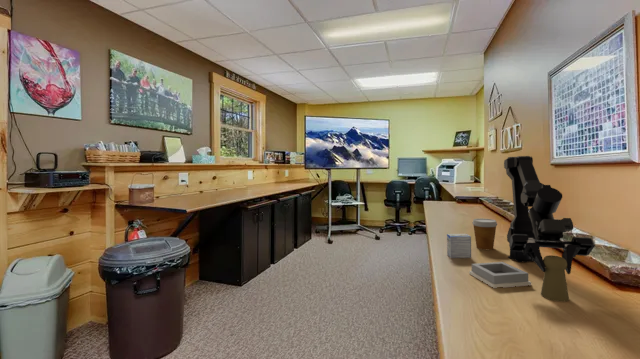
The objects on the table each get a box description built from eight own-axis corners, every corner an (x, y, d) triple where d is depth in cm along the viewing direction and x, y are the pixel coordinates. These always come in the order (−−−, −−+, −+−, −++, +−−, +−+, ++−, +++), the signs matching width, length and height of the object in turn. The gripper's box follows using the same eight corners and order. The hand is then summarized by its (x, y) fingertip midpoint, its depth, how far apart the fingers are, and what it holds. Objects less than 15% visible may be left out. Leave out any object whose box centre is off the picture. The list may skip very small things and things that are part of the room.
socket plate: (502, 271, 102) (502, 261, 101) (531, 285, 90) (531, 273, 90) (469, 273, 100) (469, 263, 100) (493, 288, 89) (493, 276, 88)
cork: (563, 293, 84) (563, 254, 83) (573, 302, 78) (573, 260, 77) (537, 290, 86) (537, 252, 85) (545, 300, 80) (545, 259, 79)
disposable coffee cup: (502, 248, 128) (502, 220, 127) (489, 252, 123) (489, 223, 123) (480, 243, 136) (480, 217, 136) (467, 247, 131) (467, 220, 131)
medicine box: (467, 254, 121) (467, 233, 120) (471, 258, 116) (471, 236, 116) (446, 255, 122) (446, 233, 121) (450, 258, 117) (450, 236, 117)
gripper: (511, 206, 88) (521, 255, 78) (592, 207, 81) (613, 261, 71) (505, 227, 95) (513, 274, 86) (578, 230, 89) (596, 281, 79)
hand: (556, 272), depth 80 cm, fingers closed on cork, 5 cm apart
